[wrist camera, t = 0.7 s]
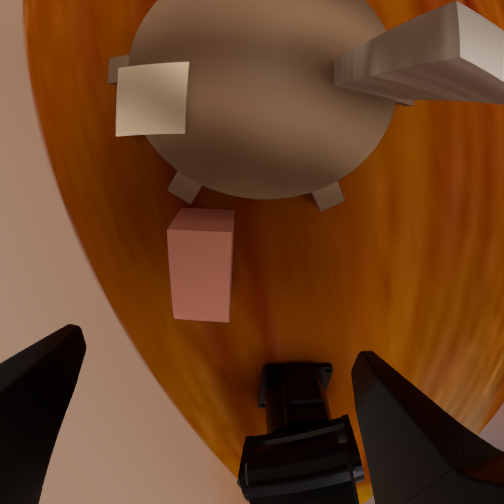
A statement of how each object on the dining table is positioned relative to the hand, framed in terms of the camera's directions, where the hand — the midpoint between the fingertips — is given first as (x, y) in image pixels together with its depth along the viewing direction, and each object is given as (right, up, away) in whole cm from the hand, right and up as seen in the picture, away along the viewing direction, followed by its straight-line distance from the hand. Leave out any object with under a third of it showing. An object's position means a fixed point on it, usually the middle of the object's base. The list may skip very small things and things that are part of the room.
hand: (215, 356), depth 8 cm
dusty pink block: (-2, +3, +12) cm, 12 cm away
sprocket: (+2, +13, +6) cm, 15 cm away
